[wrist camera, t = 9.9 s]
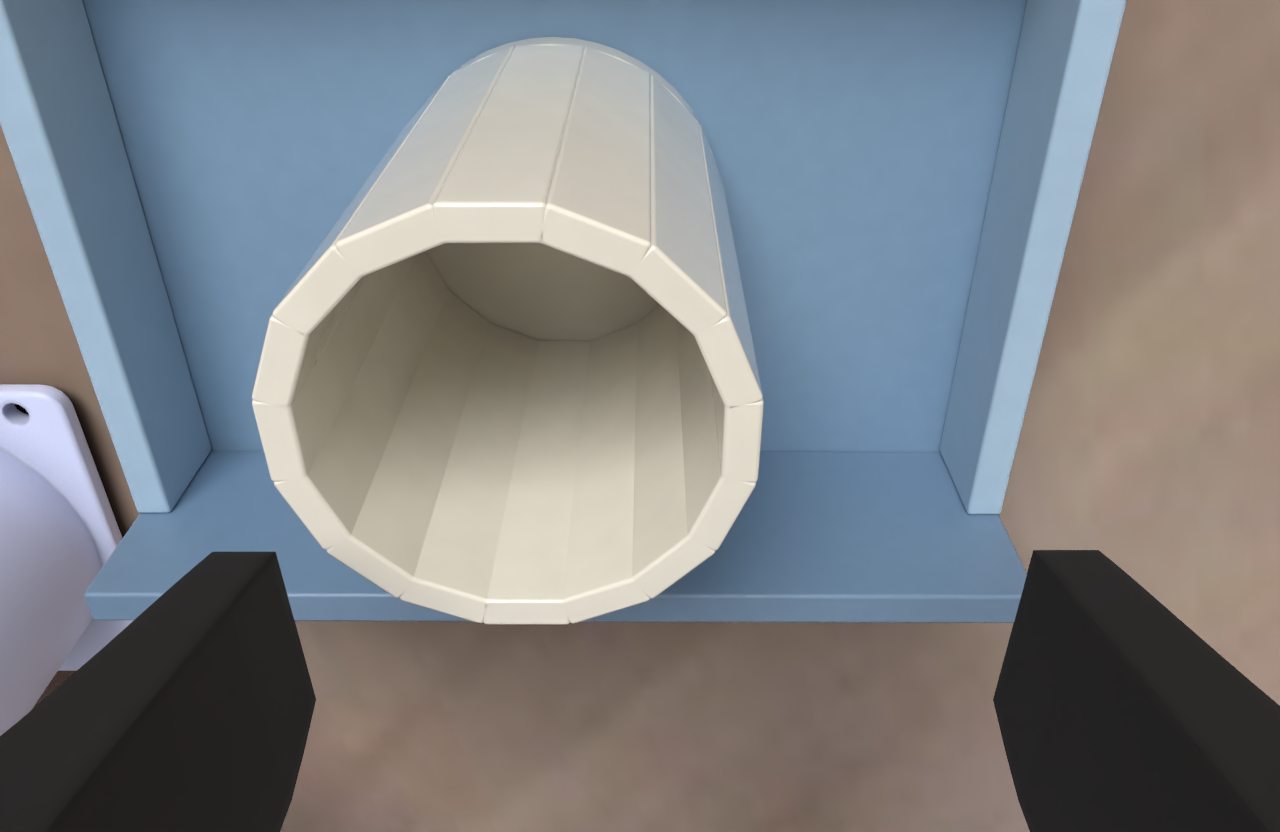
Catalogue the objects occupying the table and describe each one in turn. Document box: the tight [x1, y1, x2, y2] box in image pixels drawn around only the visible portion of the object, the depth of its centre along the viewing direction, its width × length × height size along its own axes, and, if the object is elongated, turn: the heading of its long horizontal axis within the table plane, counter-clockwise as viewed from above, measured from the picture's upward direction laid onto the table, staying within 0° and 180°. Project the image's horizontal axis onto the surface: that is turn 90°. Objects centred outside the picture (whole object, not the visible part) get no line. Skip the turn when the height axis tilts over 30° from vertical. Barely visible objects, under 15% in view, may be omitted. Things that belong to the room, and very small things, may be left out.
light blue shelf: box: [0, 0, 1127, 623], centre depth 15 cm, size 15×11×6 cm
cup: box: [252, 37, 764, 625], centre depth 13 cm, size 5×5×7 cm
